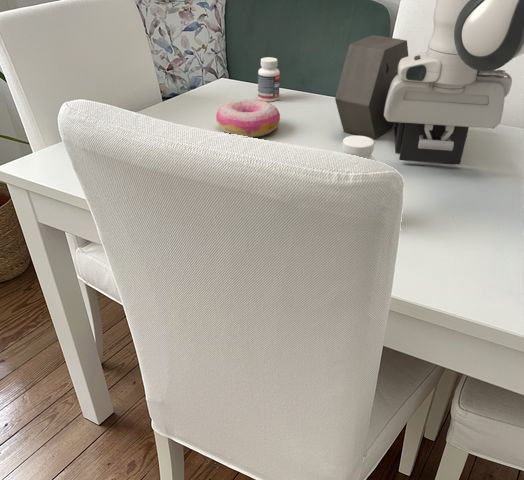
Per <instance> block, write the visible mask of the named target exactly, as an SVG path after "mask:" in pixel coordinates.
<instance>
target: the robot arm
mask: <svg viewBox="0 0 524 480" xmlns="http://www.w3.org/2000/svg"><path fill="white" fill-rule="evenodd" d="M523 54H524V0H436V1H435V6H434V10H433V31H432V34H431V37H430V39H429V41H428V46H427V50H426V51H424V52H420V53H415V54H412V55H408V57H405V58H402V59H401V60H400V62H399V64H398V75H396V76H395V77H394V79H393V80H392V82H391V85H390V88H389V91H388V95H387V99H386V103H385V109H384V117H385V118H386V120H387V121H388V122H402V123H417V124H424V130H425V133H426V136H427V138H428V139H427V140H441V141H446V140H447V138H448V137H449V136H450V135H451V134H452V133H453V131H454V126H461V127H469V128H479V129H495V128H497V127H498V126H499V125H501V122H502V119H503V113H504V105H505V98H506V97H507V96H508V95H509V93H510V92H511V91H510V90H511V87H512V83H513V78H512V76H511V75H510V74H509V73H508V72H506V70H505V69H501V68H502V67H504V66H505V65H507V64H508V63H509V62H511V61H512V60H513V59H516V58H517V57H519V56H521V55H523ZM433 125H445V132H444V133H443V134H442V136H441V137H434V136H432V135H431V133H430V130H432V129H433Z"/></svg>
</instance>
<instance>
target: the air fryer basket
mask: <svg viewBox="0 0 524 480" xmlns="http://www.w3.org/2000/svg"><path fill="white" fill-rule="evenodd" d="M469 128H470V127H461V126H454V131H453V133H452V134H451V135H450V136H449V137H448V138H447V140H446V141H441V140H427V139H428V138H427V136H426V133H425V130H424V124H417V123H404V128H403V134H402V145H401V151H400V153H399V158H398V159H399V161H404V162H405V161H406V162H417V163H431V164H442V165H443V164H446V165H456V166H457V165H458V166H460V165H461V162H462V157H463V154H464V150H465V145H466V141H467V137H468V132H469V130H470V129H469ZM444 132H445V125H433V129H432V130H430V133H431V135H432V136H434V137H441V136H442V134H443V133H444Z"/></svg>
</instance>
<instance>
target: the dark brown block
mask: <svg viewBox="0 0 524 480" xmlns="http://www.w3.org/2000/svg"><path fill="white" fill-rule="evenodd" d="M408 56H409V46H408V40H407V39H401V38H395V37H388V36H383V35H375V34H372V35H369V36H366V37H364V38H362V39H359V40H357V41H353V42H351V43H350V44H348V48H347V52H346V56H345V60H344V63H343V66H342V71H341V74H340V77H339V78H340V79H339V83H338V85H337V90H336V93H335V97H334V100H335V104H336V109H337V112H338V116H339V120H340V124H341V128H342V131H343V133H348V134H352V135H354V136H365V137H369V138H371V139H372V140H377V139H379V138H380V137H381V136H383V135H384V134H386V133H387V132H388V131H390V130H392V129H393V128H395V123H396V122H388V121H387V120H386V118H385V117H384V109H385V103H386V99H387V95H388V91H389V88H390V85H391V82H392V80H393V79H394V77H395V76H396V75H398V64H399V62H400V60H401V59H402V58H405V57H408Z"/></svg>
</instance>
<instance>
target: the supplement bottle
mask: <svg viewBox="0 0 524 480" xmlns="http://www.w3.org/2000/svg"><path fill="white" fill-rule="evenodd" d="M341 145H342V146H341V149H342V151H343V152H342V153H346V154H351V155H356V156H359V157H363V158H367V159H371V160H375V161H377V159H376V157H375V156H374V155H372V154H373V152H374V148H375V140H374V139H372V138H369V137H365V136H359V135H349V136H346V137H344V138H343V140H342V144H341ZM377 162H378V161H377Z"/></svg>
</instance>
